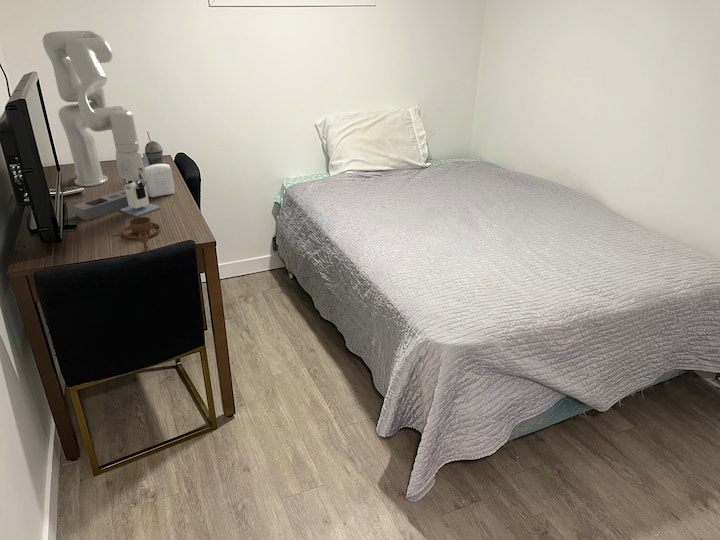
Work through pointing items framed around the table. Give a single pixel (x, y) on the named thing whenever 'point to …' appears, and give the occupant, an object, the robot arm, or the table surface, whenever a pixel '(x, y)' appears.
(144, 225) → the place setting
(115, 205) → the power strip
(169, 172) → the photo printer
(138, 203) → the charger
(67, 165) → the table surface
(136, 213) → the mat
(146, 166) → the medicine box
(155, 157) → the beverage cup
